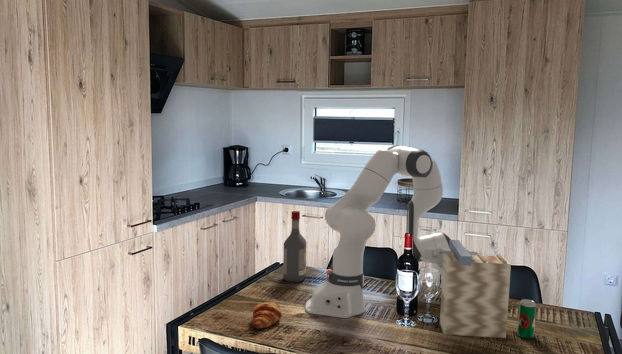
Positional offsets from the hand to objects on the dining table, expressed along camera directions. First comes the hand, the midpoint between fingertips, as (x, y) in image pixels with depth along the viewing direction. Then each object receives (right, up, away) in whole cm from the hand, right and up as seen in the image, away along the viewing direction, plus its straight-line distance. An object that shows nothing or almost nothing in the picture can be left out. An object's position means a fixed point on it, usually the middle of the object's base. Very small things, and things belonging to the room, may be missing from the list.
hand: (453, 251), depth 181 cm
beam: (-1, 0, -11) cm, 11 cm away
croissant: (-67, -24, -6) cm, 71 cm away
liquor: (-59, -18, +40) cm, 74 cm away
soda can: (+20, -26, -15) cm, 36 cm away
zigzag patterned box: (+3, -25, -11) cm, 28 cm away
